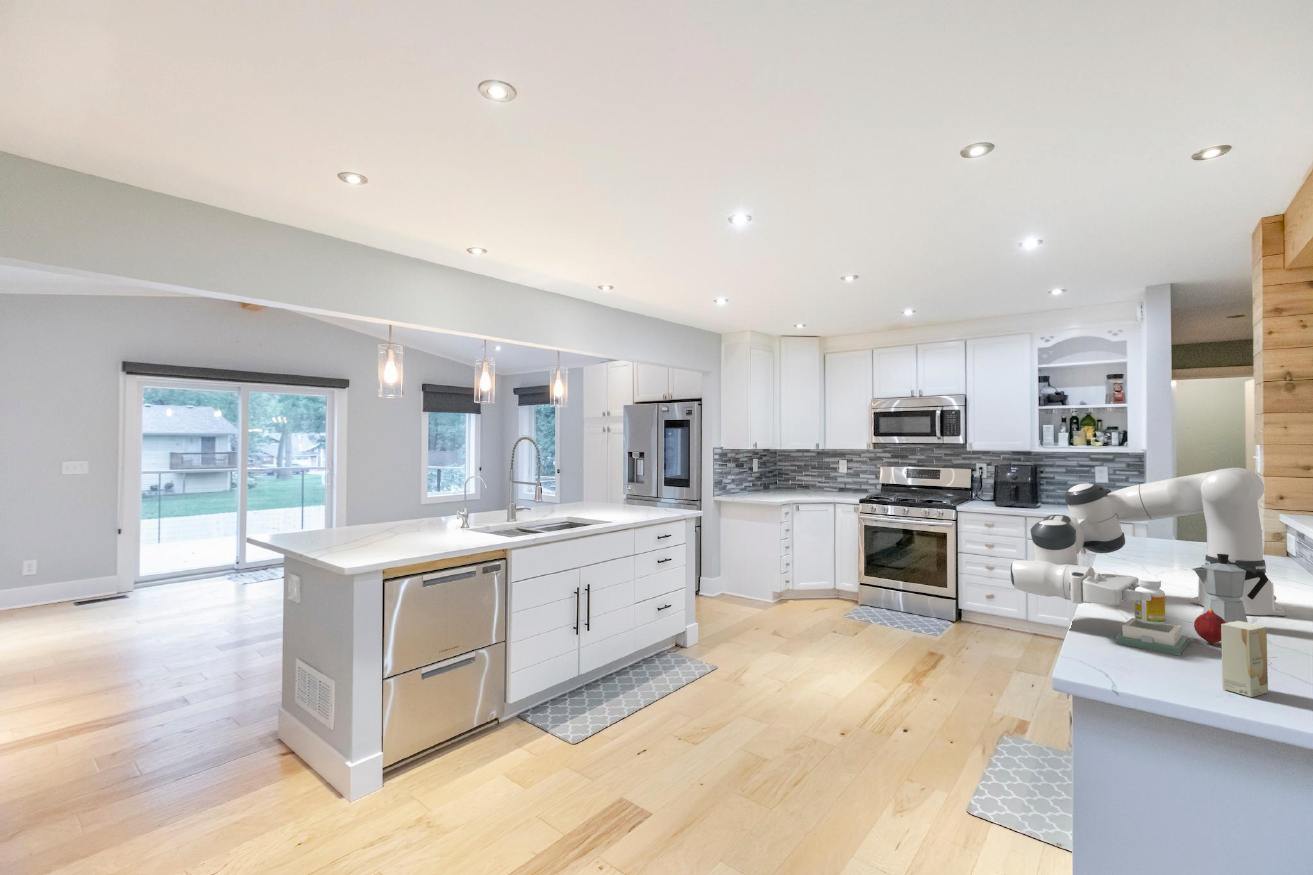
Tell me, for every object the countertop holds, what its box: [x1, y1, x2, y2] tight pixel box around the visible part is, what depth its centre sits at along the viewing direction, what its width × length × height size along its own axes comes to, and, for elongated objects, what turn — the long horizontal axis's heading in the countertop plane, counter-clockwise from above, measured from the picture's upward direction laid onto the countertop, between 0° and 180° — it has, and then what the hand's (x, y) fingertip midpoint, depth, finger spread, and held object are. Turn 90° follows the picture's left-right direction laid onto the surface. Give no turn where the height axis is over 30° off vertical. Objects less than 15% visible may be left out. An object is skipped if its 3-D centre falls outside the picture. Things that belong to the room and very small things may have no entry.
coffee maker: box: [1191, 554, 1270, 623], centre depth 148 cm, size 15×9×18 cm, turn 68°
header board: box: [1115, 617, 1190, 656], centre depth 136 cm, size 12×11×4 cm
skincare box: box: [1221, 621, 1269, 698], centre depth 109 cm, size 6×4×12 cm
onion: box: [1193, 608, 1226, 645], centre depth 135 cm, size 6×6×8 cm
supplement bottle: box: [1134, 577, 1166, 625], centre depth 136 cm, size 5×5×10 cm
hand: (1155, 594), depth 135 cm, fingers closed on supplement bottle, 5 cm apart
